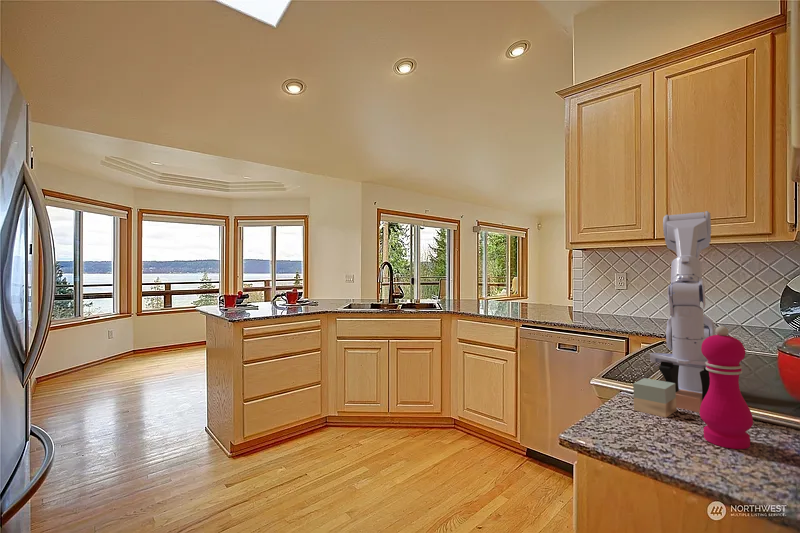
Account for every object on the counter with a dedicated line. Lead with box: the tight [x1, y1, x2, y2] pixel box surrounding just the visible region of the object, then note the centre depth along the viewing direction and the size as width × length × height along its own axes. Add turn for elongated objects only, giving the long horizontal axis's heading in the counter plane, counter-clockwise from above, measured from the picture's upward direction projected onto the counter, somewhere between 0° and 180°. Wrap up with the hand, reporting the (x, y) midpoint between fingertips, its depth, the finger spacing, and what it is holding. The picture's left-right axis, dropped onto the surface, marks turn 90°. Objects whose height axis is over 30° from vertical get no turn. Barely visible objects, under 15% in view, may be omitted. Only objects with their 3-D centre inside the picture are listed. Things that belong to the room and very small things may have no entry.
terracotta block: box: [676, 389, 702, 414], centre depth 87 cm, size 5×5×3 cm
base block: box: [633, 397, 678, 418], centre depth 86 cm, size 6×6×3 cm
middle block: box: [632, 377, 676, 404], centre depth 86 cm, size 6×6×3 cm
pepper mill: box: [699, 325, 754, 450], centre depth 70 cm, size 7×7×20 cm
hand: (690, 400), depth 87 cm, fingers closed on terracotta block, 5 cm apart
